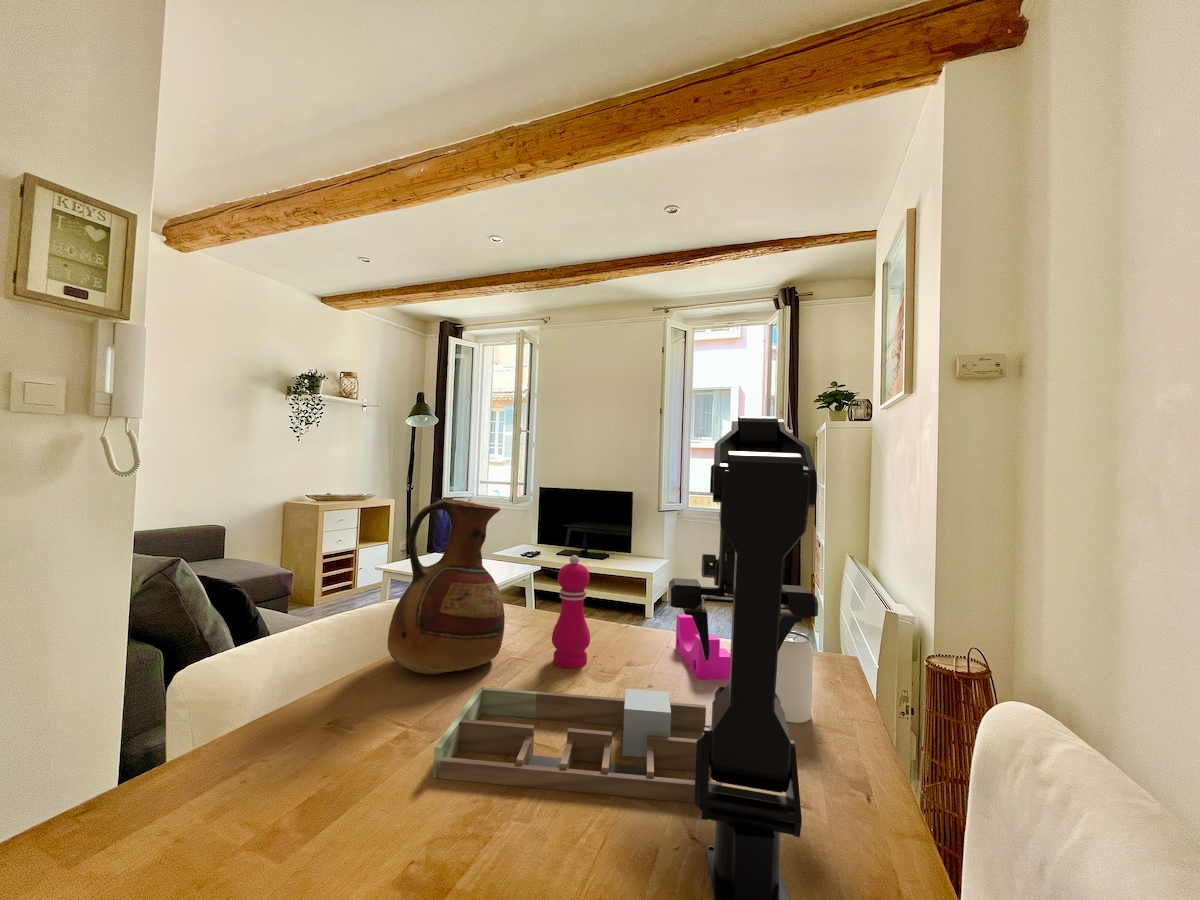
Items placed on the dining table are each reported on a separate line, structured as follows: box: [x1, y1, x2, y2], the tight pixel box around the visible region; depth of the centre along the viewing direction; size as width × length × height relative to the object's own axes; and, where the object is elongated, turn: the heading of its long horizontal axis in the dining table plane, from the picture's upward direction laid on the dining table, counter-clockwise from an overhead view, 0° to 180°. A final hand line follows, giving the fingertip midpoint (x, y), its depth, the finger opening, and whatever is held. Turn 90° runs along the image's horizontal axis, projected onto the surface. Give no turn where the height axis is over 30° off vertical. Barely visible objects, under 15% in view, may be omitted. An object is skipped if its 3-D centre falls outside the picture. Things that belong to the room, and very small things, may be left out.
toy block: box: [675, 613, 731, 681], centre depth 97 cm, size 15×6×8 cm, turn 7°
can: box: [775, 630, 814, 724], centre depth 78 cm, size 6×6×12 cm
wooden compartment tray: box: [432, 686, 723, 804], centre depth 66 cm, size 16×33×4 cm, turn 85°
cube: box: [622, 688, 671, 758], centre depth 68 cm, size 6×6×6 cm
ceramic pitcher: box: [387, 497, 506, 675], centre depth 93 cm, size 20×20×30 cm
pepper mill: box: [551, 554, 591, 670], centre depth 95 cm, size 7×7×20 cm
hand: (737, 661), depth 68 cm, fingers open, 8 cm apart
